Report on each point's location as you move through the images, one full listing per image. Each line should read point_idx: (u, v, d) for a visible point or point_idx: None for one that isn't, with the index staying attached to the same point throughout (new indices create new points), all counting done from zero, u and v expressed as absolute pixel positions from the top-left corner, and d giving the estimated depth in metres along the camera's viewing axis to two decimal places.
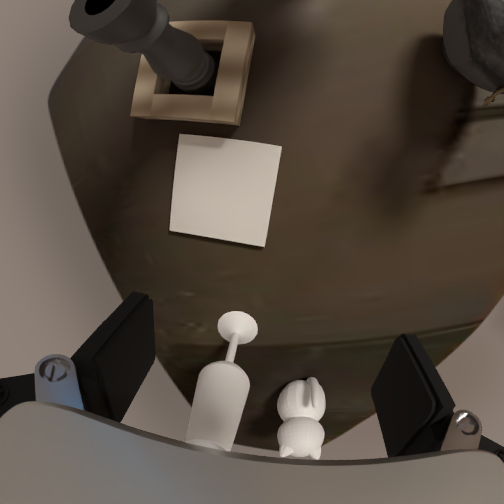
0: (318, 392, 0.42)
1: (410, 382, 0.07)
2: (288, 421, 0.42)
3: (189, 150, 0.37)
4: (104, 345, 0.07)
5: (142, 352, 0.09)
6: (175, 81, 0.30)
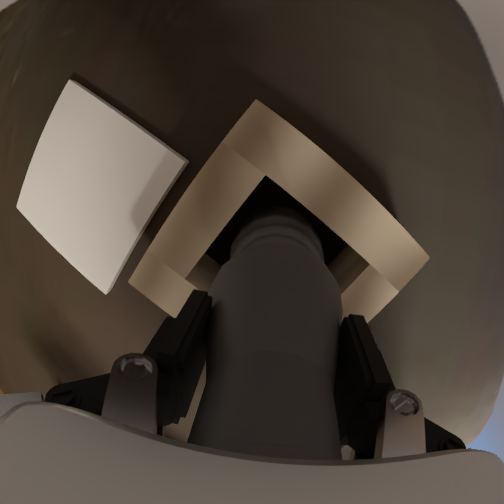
0: None
1: (351, 359, 0.09)
2: None
3: (149, 165, 0.19)
4: (182, 341, 0.08)
5: (203, 347, 0.10)
6: (258, 234, 0.16)
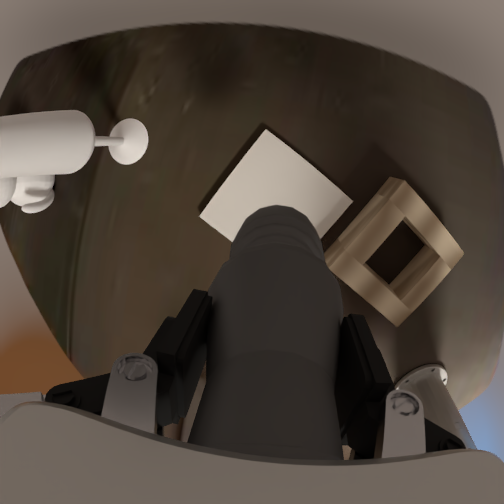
0: (37, 211, 0.33)
1: (351, 359, 0.09)
2: None
3: (331, 200, 0.35)
4: (182, 340, 0.08)
5: (203, 347, 0.10)
6: (258, 233, 0.16)
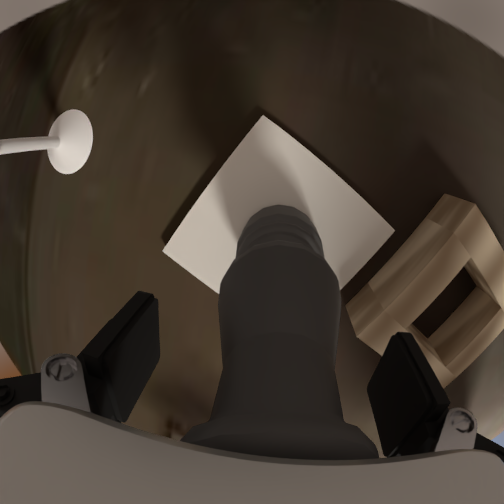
0: None
1: (405, 379, 0.08)
2: None
3: (364, 230, 0.22)
4: (111, 344, 0.07)
5: (147, 351, 0.09)
6: (263, 232, 0.17)
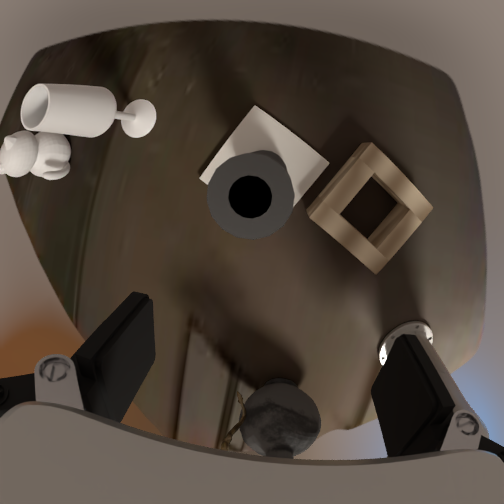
0: (55, 178, 0.39)
1: (410, 382, 0.07)
2: (36, 145, 0.34)
3: (311, 162, 0.41)
4: (104, 345, 0.07)
5: (142, 352, 0.09)
6: None
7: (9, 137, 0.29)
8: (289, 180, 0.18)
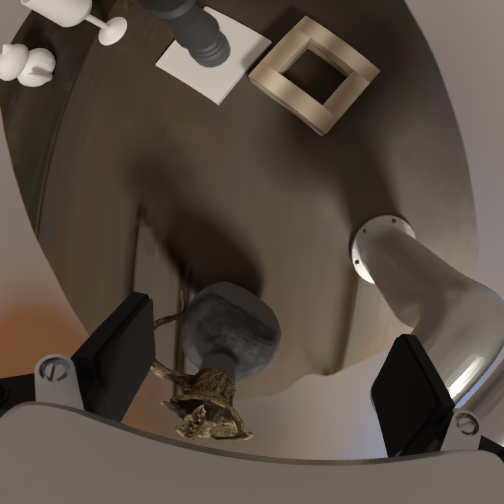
0: (37, 79, 0.35)
1: (410, 382, 0.07)
2: (27, 53, 0.31)
3: (254, 42, 0.37)
4: (104, 345, 0.07)
5: (142, 352, 0.09)
6: None
7: (7, 44, 0.26)
8: None
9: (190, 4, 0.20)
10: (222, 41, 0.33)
